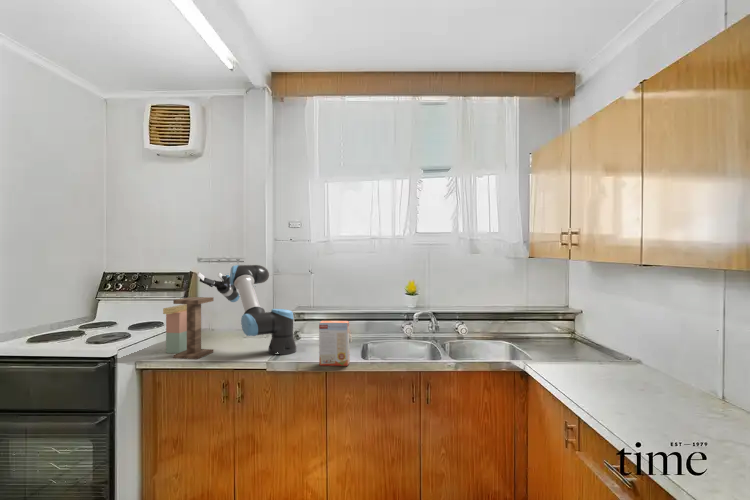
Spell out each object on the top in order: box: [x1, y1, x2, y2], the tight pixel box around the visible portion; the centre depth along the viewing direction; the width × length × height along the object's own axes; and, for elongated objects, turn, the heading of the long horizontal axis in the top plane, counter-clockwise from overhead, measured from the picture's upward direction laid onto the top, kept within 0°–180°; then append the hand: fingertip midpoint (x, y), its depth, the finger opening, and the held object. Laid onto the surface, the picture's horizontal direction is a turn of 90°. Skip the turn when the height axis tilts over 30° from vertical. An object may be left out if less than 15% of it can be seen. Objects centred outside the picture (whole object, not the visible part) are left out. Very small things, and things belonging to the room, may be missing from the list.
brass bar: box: [162, 304, 187, 315], centre depth 220 cm, size 4×22×3 cm, turn 171°
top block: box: [165, 310, 187, 334], centre depth 219 cm, size 8×10×11 cm
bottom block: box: [165, 331, 187, 354], centre depth 218 cm, size 8×10×11 cm
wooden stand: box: [172, 296, 214, 360], centre depth 209 cm, size 14×14×30 cm
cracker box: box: [318, 320, 351, 367], centre depth 191 cm, size 14×6×21 cm, turn 84°
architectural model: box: [349, 329, 353, 343], centre depth 240 cm, size 3×7×7 cm, turn 73°
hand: (208, 274), depth 240 cm, fingers open, 13 cm apart
